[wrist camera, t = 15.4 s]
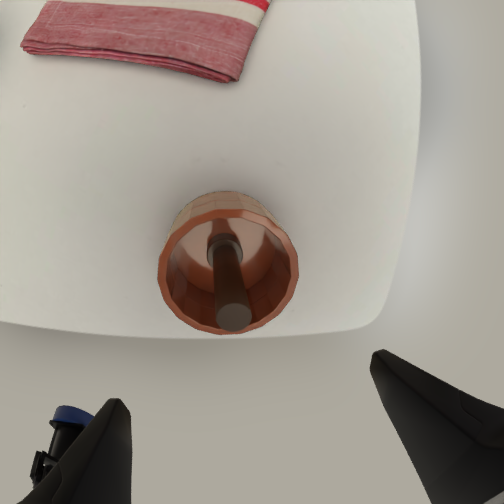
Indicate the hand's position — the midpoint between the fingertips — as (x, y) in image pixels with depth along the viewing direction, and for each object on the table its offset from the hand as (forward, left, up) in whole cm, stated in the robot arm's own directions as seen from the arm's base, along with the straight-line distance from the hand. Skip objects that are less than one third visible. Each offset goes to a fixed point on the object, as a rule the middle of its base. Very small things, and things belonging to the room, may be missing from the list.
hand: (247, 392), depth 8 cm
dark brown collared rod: (0, 0, -12) cm, 12 cm away
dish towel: (0, +25, -13) cm, 28 cm away
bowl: (0, 0, -13) cm, 13 cm away
